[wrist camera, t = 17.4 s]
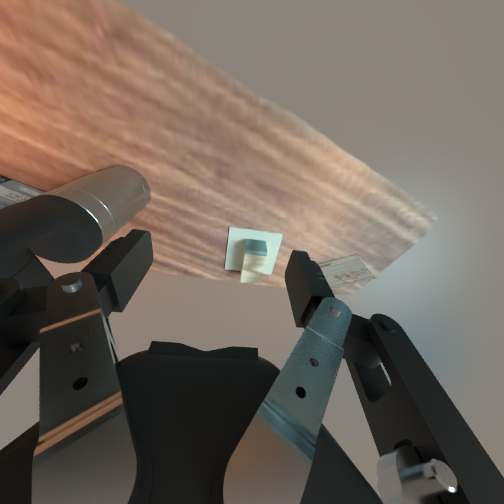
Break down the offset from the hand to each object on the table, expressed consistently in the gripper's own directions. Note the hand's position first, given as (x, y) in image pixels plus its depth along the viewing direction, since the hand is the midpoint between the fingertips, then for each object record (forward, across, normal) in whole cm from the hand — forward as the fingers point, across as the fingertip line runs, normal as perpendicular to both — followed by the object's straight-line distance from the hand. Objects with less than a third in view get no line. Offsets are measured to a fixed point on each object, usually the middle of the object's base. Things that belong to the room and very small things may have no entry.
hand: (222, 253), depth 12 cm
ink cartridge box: (+33, -30, +22) cm, 50 cm away
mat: (+33, -6, +22) cm, 40 cm away
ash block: (+30, -7, +28) cm, 42 cm away
